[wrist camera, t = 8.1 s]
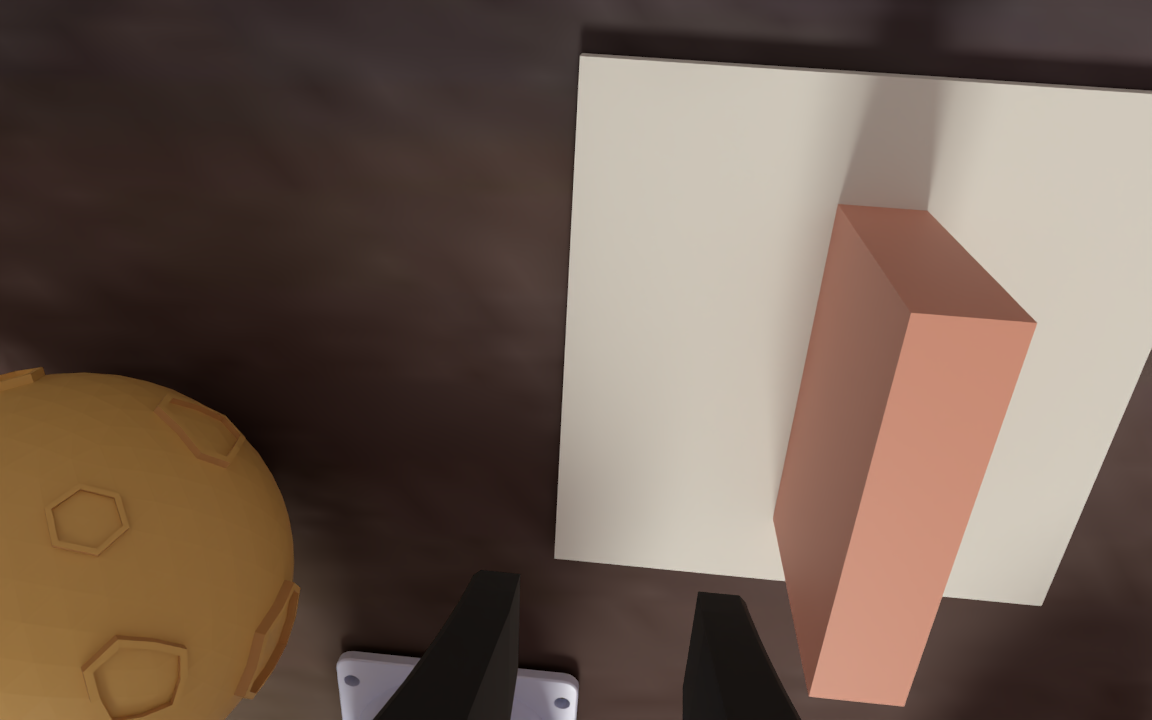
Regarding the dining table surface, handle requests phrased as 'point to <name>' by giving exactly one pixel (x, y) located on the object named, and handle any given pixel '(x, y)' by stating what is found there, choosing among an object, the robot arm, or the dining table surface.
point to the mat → (792, 285)
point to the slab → (889, 444)
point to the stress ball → (134, 554)
